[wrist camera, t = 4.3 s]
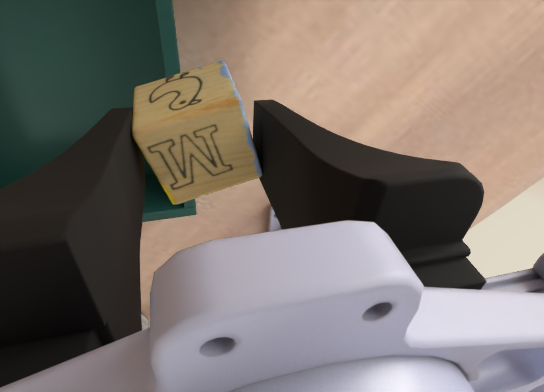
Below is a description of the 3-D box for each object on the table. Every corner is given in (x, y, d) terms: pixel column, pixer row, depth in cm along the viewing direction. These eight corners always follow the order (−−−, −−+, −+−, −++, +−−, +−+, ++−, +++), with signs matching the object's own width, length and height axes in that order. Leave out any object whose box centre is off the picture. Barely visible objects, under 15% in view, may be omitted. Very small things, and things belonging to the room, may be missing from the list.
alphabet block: (246, 133, 14) (266, 180, 11) (169, 158, 14) (174, 211, 11) (223, 56, 12) (241, 95, 9) (132, 85, 11) (128, 132, 9)
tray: (190, 172, 23) (196, 215, 20) (-11, 193, 20) (-40, 247, 17) (158, -95, 14) (161, -92, 11) (-198, -118, 11) (-320, -121, 8)
